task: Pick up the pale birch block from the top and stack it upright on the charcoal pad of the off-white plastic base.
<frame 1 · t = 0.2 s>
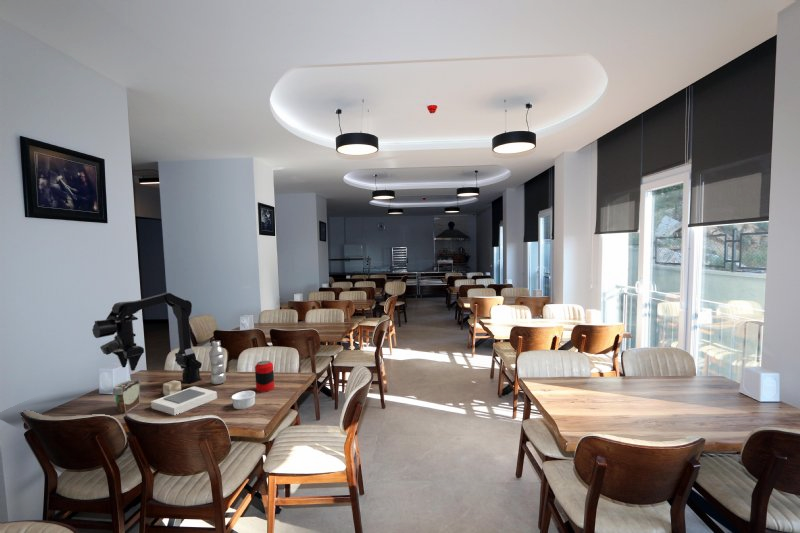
hand: (128, 368, 162), 14 cm above the table, tool pointing down, fingers open, 9 cm apart
soda can: (265, 389, 171), on the table
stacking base: (185, 403, 159), on the table
birch block: (172, 393, 170), on the table
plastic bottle: (218, 383, 181), on the table
food container: (125, 409, 156), on the table
ramekin: (244, 405, 154), on the table
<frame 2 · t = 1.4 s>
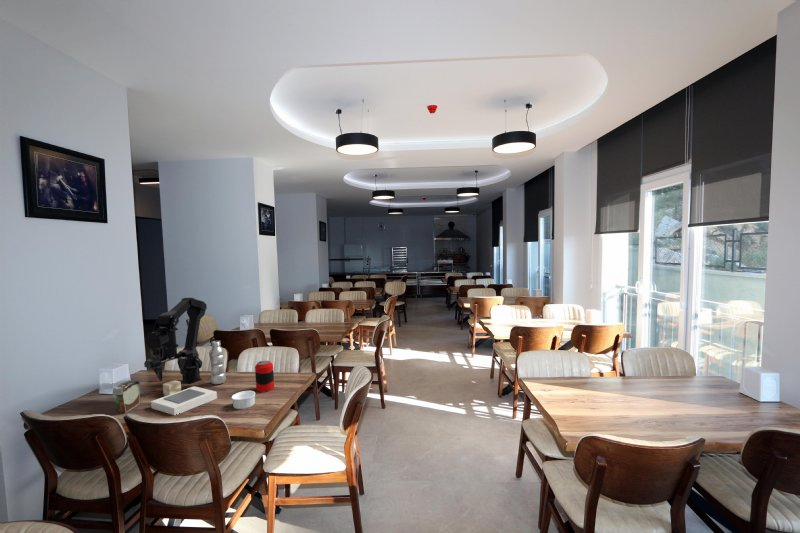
hand: (171, 377, 170), 7 cm above the table, tool pointing down, fingers open, 9 cm apart
nothing on the table moved.
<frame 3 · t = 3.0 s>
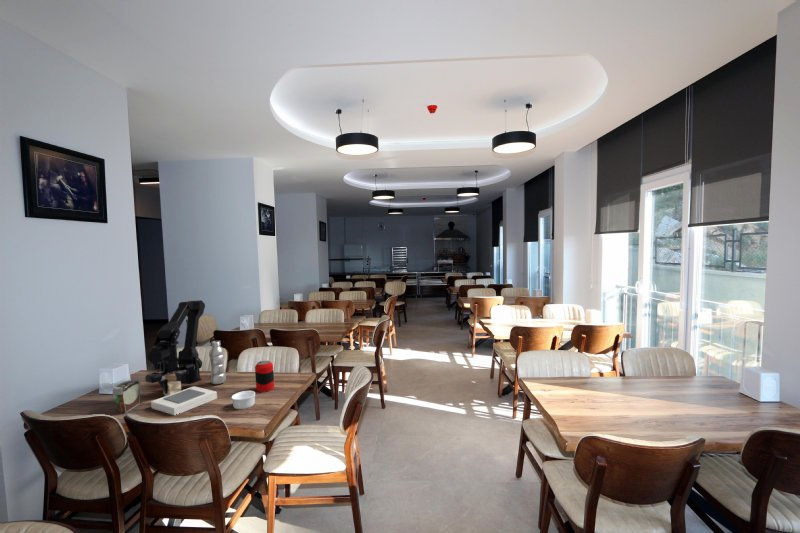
hand: (172, 391, 170), 1 cm above the table, tool pointing down, fingers closed on birch block, 5 cm apart
birch block: (172, 393, 170), on the table, touching gripper
everything else where it was.
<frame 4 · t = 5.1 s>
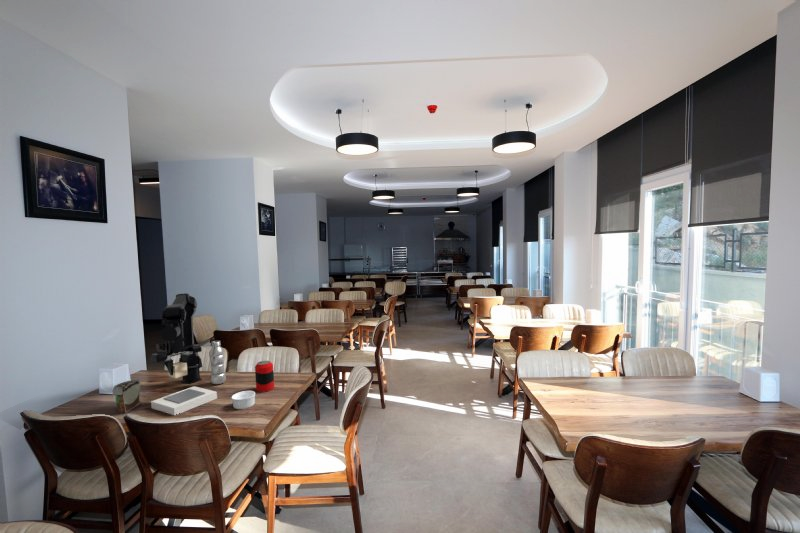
hand: (178, 373, 162), 12 cm above the table, tool pointing down, fingers closed on birch block, 5 cm apart
birch block: (178, 375, 162), point 11 cm above the table, touching gripper
everything else where it was.
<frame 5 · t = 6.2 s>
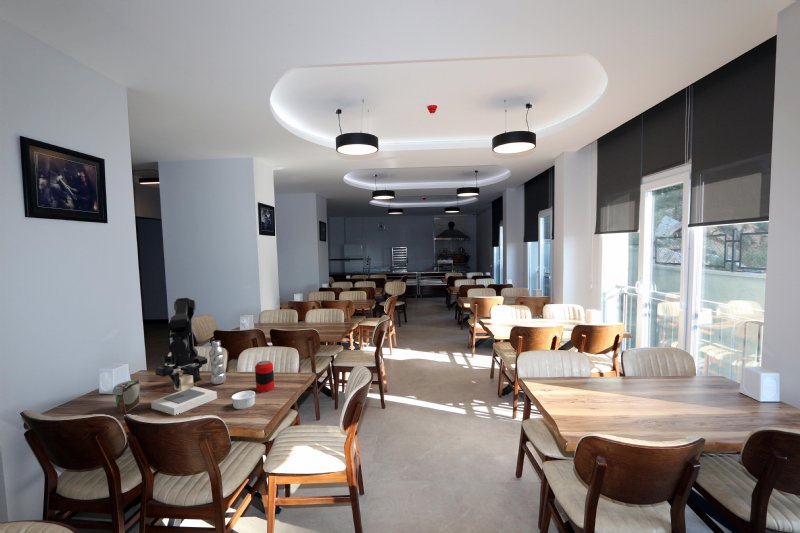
hand: (183, 386, 159), 7 cm above the table, tool pointing down, fingers closed on birch block, 5 cm apart
birch block: (184, 388, 159), point 6 cm above the table, touching gripper
everything else where it was.
when the fingers open (6 cm above the table, at t = 7.2 s): birch block drops 1 cm, resting on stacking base.
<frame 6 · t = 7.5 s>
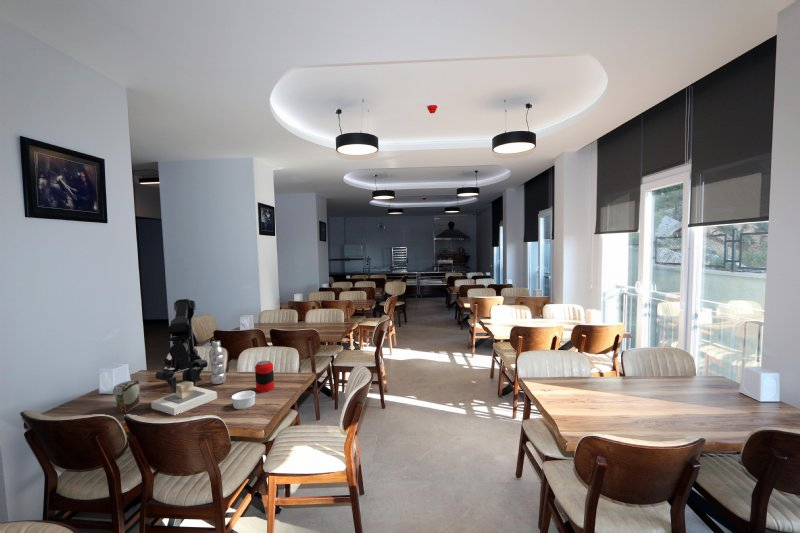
hand: (184, 389, 159), 6 cm above the table, tool pointing down, fingers open, 8 cm apart
birch block: (184, 395, 159), point 3 cm above the table, touching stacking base
everything else where it was.
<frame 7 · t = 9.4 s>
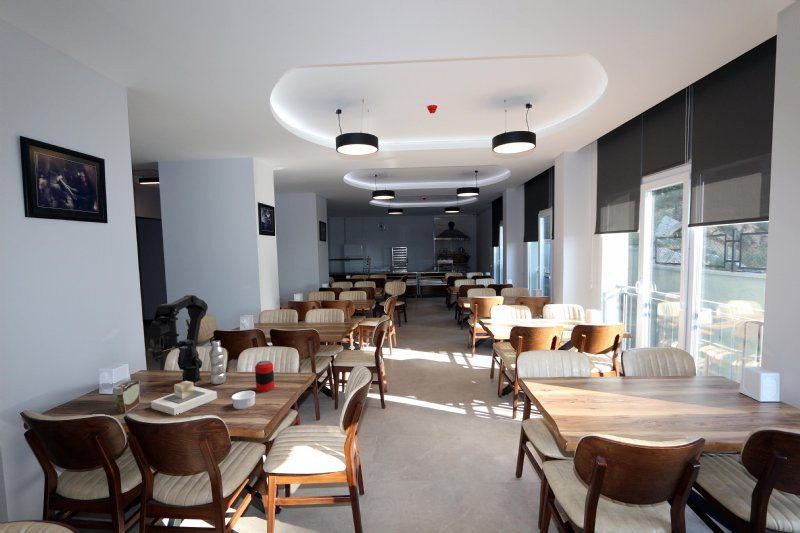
hand: (172, 366, 171), 12 cm above the table, tool pointing down, fingers open, 9 cm apart
nothing on the table moved.
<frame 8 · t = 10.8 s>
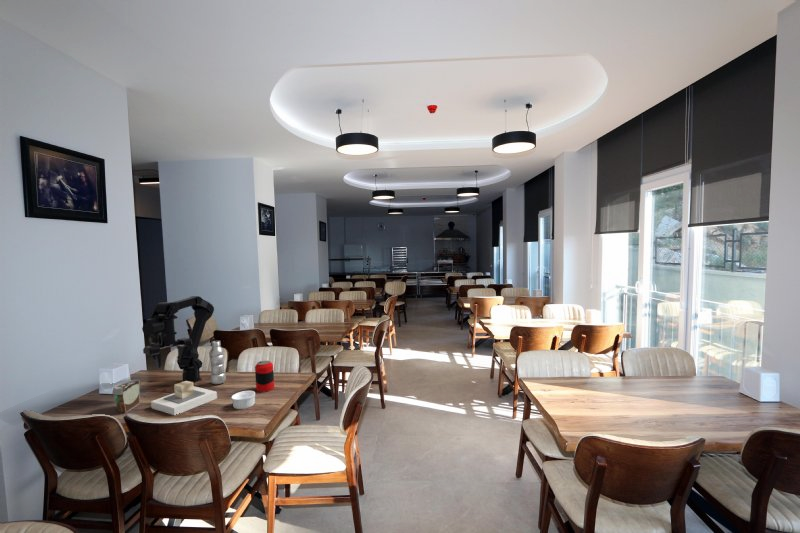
hand: (169, 364, 173), 12 cm above the table, tool pointing down, fingers open, 9 cm apart
nothing on the table moved.
at the end: birch block inside the target area on the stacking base (0.0 cm from its centre), point 3.2 cm above the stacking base's base; birch block tilted 0°; the gripper is holding nothing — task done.
